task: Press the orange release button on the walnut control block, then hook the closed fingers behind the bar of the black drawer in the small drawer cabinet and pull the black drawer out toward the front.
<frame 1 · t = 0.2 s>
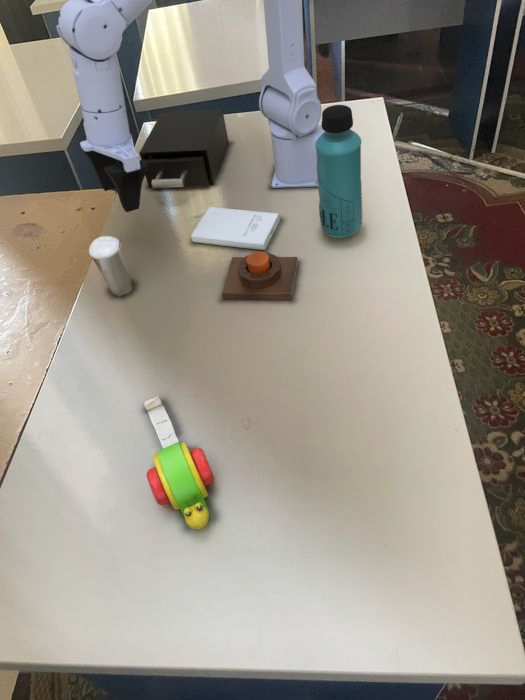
hand: (120, 198, 84), 10 cm above the table, tool pointing down, fingers open, 7 cm apart
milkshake: (125, 290, 87), on the table
hard drive: (237, 232, 93), on the table
small drawer cabinet: (190, 164, 109), on the table
release button: (258, 263, 81), point 3 cm above the table, slide at 0.1 cm
toy measuring tape: (177, 464, 65), on the table
beverage bottle: (341, 235, 89), on the table
black drawer: (180, 160, 103), point 3 cm above the table, slide at 0.5 cm
control block: (261, 281, 84), on the table
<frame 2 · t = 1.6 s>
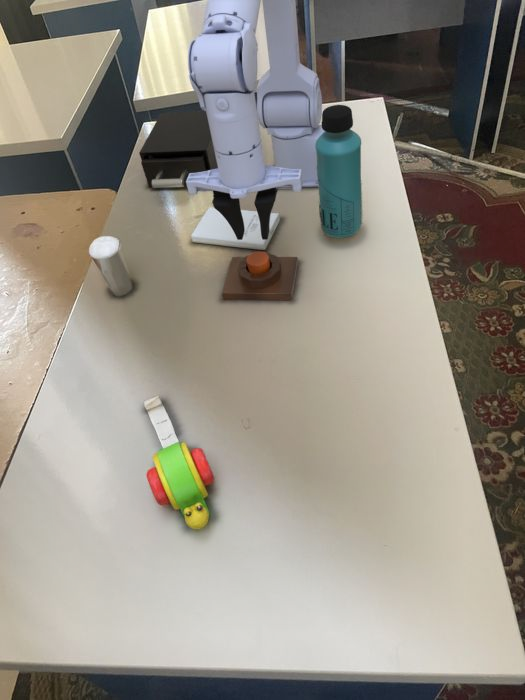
hand: (253, 235, 77), 8 cm above the table, tool pointing down, fingers open, 3 cm apart
nothing on the table moved.
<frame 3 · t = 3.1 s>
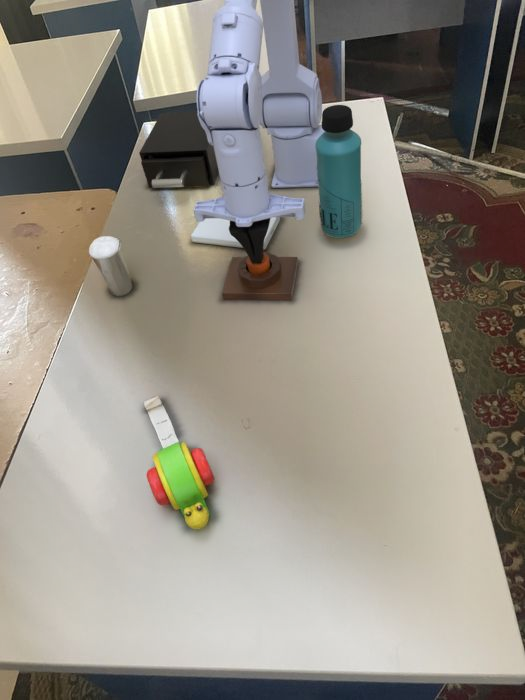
hand: (257, 259, 81), 4 cm above the table, tool pointing down, fingers closed, pressing on release button
release button: (258, 263, 81), point 3 cm above the table, slide at 0.0 cm, touching gripper
everything else where it was.
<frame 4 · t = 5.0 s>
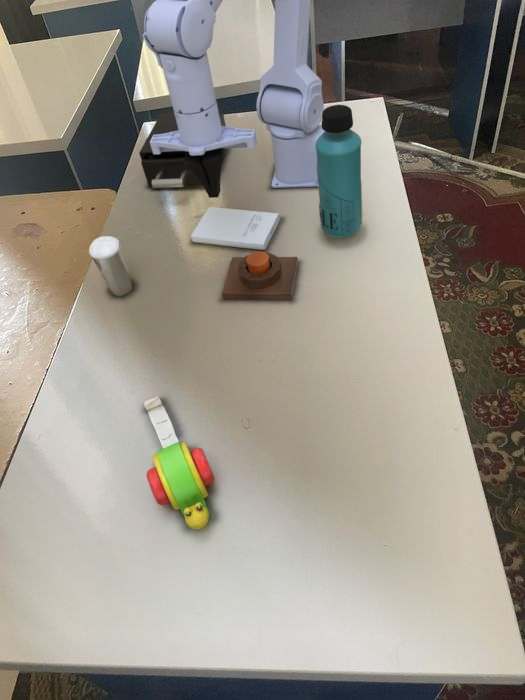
hand: (214, 193, 84), 9 cm above the table, tool pointing down, fingers closed
release button: (258, 263, 81), point 3 cm above the table, slide at 0.1 cm
everything else where it was.
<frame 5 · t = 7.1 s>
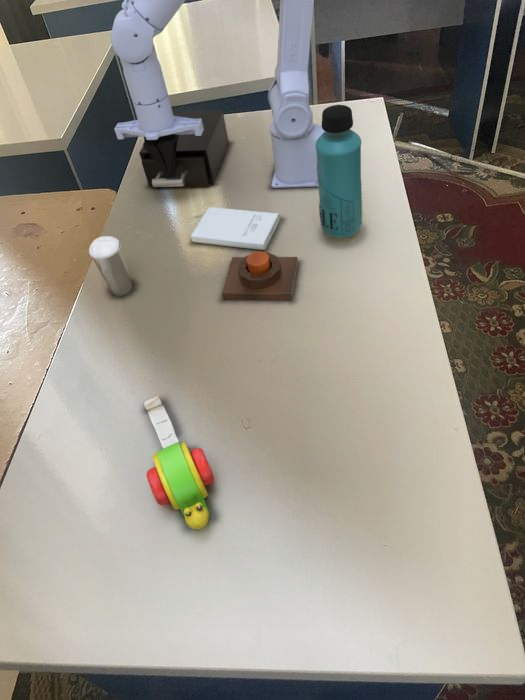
hand: (171, 174, 99), 4 cm above the table, tool pointing down, fingers closed
nothing on the table moved.
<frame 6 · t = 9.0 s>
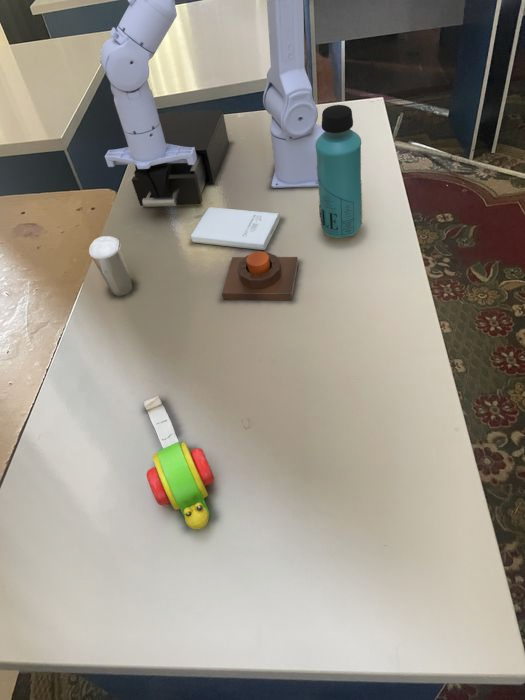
hand: (163, 201, 96), 3 cm above the table, tool pointing down, fingers closed, pressing on black drawer
black drawer: (173, 177, 100), point 3 cm above the table, slide at 6.1 cm, touching gripper
everything else where it was.
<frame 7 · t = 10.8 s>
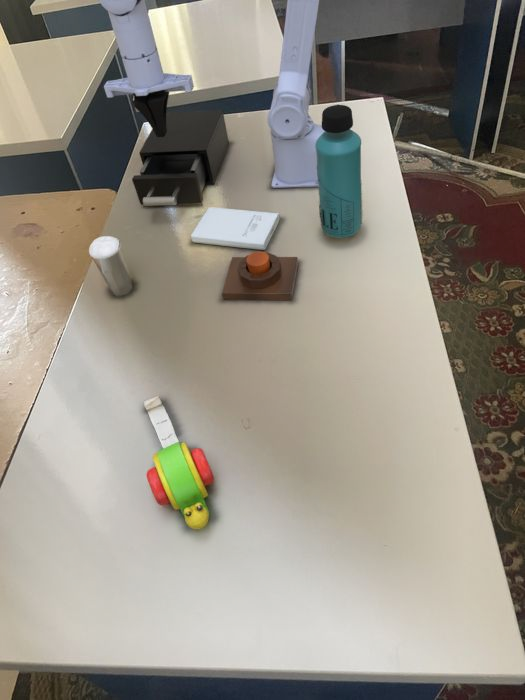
hand: (162, 134, 98), 9 cm above the table, tool pointing down, fingers closed
black drawer: (173, 177, 100), point 3 cm above the table, slide at 5.8 cm
everything else where it was.
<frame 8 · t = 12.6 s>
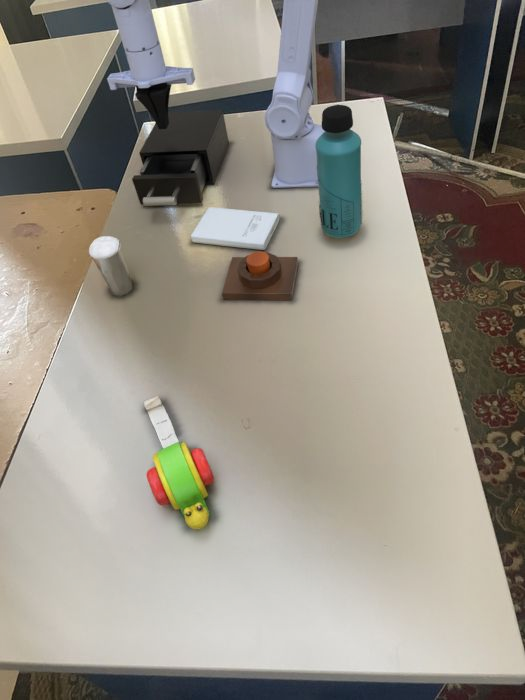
hand: (164, 126, 100), 9 cm above the table, tool pointing down, fingers closed
nothing on the table moved.
at the end: release button pushed in 1.1 cm at the most during the clip, back to where it started at the end; release button slide at 0.1 cm; black drawer slide at 5.8 cm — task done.
